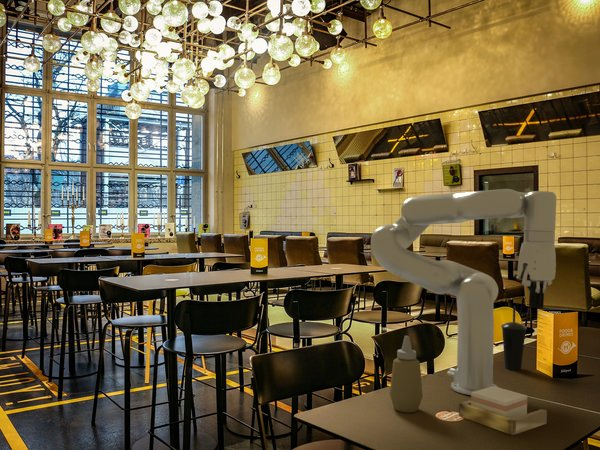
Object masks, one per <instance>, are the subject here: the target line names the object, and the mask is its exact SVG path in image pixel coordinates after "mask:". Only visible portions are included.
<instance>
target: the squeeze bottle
mask: <svg viewBox="0 0 600 450" xmlns="http://www.w3.org/2000/svg"><path fill="white" fill-rule="evenodd" d="M396 353H397V354H396V355H397V357H396V358H394V359H393V362H392V371H391V380H390V389H389V396H390V400H391V403H392V406H393V409H394V410H396V411H399V412H402V413H415V412H417V411H418V410H419V407H420V405H421V403H422V400H423V386H422V385H423V384H422V372H421V362H420V361H419V360H418V359H417V351H416V350H415V349H413V348H412V342H411V337H410V335H404V338H403V341H402V346H401V348H400V349H397V351H396Z"/></svg>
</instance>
